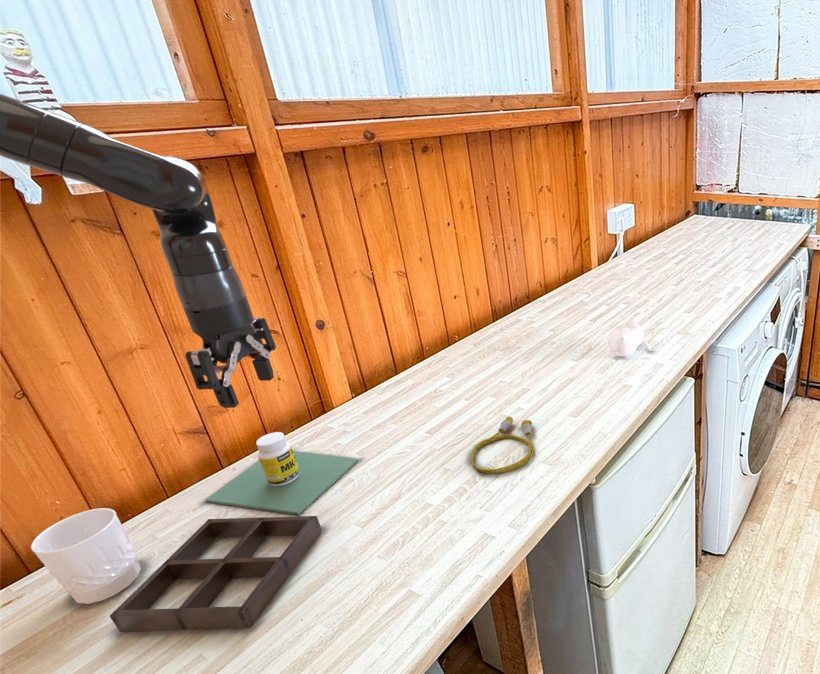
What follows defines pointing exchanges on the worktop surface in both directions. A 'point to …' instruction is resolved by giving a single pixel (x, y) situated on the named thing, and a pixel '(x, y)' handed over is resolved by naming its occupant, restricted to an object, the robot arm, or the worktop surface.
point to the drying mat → (286, 498)
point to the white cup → (88, 555)
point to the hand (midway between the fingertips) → (249, 392)
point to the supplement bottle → (277, 459)
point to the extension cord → (503, 427)
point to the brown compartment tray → (219, 575)
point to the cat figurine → (626, 340)
